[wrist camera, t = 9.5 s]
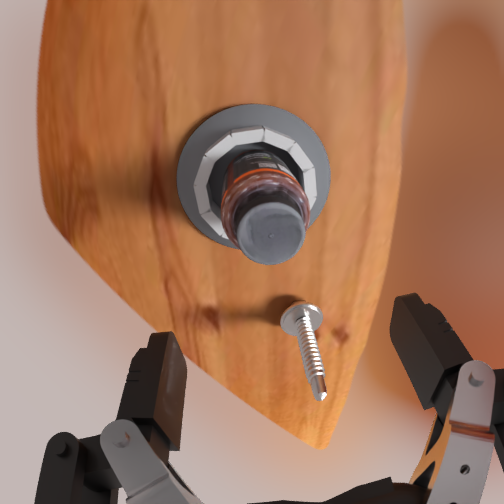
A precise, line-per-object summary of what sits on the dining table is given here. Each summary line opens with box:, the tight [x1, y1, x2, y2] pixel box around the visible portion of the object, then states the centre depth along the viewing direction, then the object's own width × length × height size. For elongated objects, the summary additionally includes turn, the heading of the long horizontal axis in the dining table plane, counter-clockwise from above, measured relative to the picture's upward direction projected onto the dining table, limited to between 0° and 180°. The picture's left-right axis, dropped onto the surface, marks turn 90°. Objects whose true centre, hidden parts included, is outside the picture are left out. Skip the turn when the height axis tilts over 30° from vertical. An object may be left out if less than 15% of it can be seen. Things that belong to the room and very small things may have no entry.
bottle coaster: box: [177, 104, 330, 249], centre depth 27 cm, size 14×14×3 cm
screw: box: [280, 301, 327, 401], centre depth 30 cm, size 13×5×5 cm
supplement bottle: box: [221, 150, 310, 265], centre depth 23 cm, size 6×6×11 cm
